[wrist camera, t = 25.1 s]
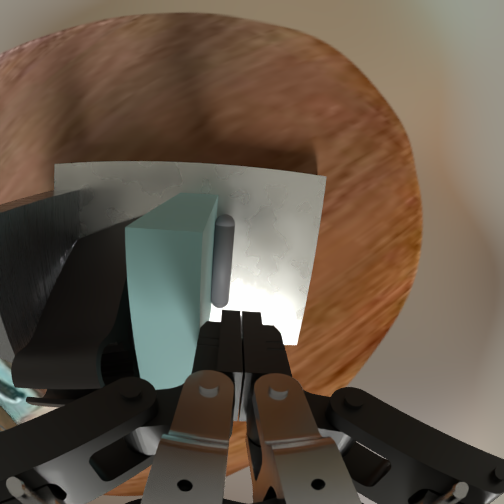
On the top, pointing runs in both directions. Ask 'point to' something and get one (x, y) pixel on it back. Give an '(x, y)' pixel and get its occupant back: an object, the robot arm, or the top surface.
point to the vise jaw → (176, 282)
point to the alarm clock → (5, 420)
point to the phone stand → (82, 325)
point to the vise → (143, 201)
